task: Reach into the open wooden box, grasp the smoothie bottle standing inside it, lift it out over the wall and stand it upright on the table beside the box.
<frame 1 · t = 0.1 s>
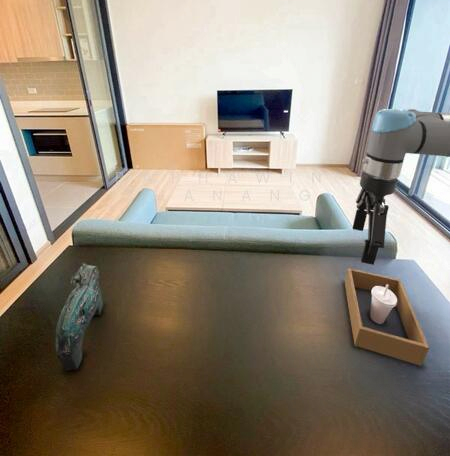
hand: (361, 244, 67), 27 cm above the table, tool pointing down, fingers open, 13 cm apart
smoothie: (376, 318, 75), resting in wooden box
dark teal curved piece: (88, 333, 70), on the table
wooden box: (376, 317, 75), on the table
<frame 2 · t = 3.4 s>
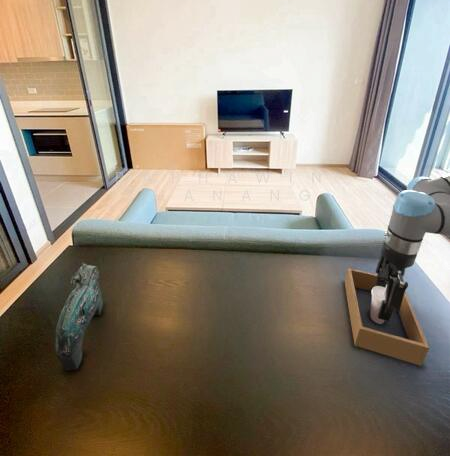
hand: (380, 307, 73), 4 cm above the table, tool pointing down, fingers closed on smoothie, 6 cm apart
smoothie: (376, 318, 75), resting in wooden box, touching gripper
everything else where it was.
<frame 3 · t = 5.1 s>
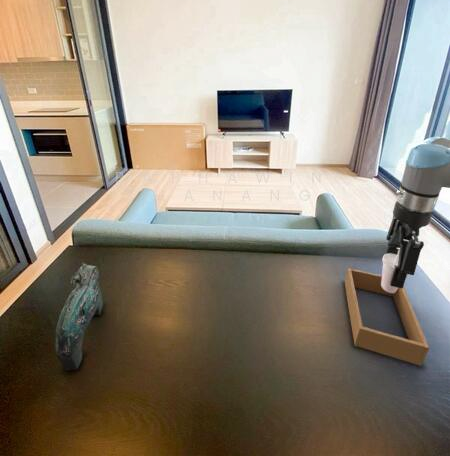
hand: (392, 275, 69), 17 cm above the table, tool pointing down, fingers closed on smoothie, 6 cm apart
smoothie: (388, 288, 70), point 12 cm above the table, touching gripper
everything else where it was.
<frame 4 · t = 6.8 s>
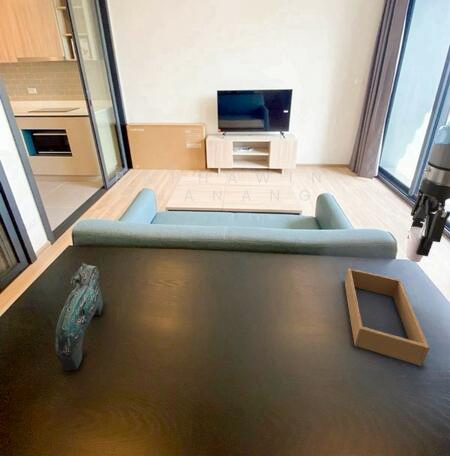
hand: (417, 246, 76), 19 cm above the table, tool pointing down, fingers closed on smoothie, 6 cm apart
smoothie: (412, 258, 78), point 15 cm above the table, touching gripper
everything else where it was.
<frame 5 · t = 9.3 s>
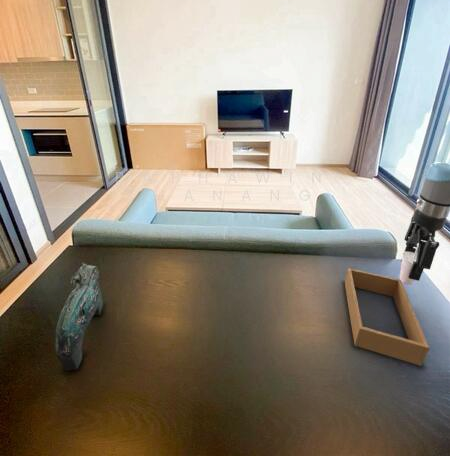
hand: (409, 270, 82), 8 cm above the table, tool pointing down, fingers closed on smoothie, 6 cm apart
smoothie: (405, 280, 84), point 3 cm above the table, touching gripper
everything else where it was.
when the fingers open (4 cm above the table, at t = 10.6 s): smoothie stays where it is, on the table.
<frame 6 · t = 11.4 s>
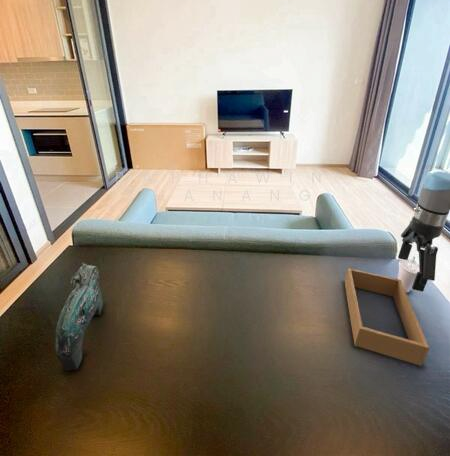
hand: (409, 273, 82), 7 cm above the table, tool pointing down, fingers open, 13 cm apart
smoothie: (403, 288, 85), on the table
everything else where it was.
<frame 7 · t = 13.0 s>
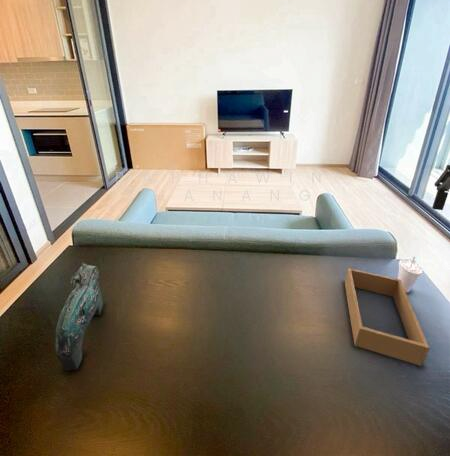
hand: (448, 220, 77), 27 cm above the table, tool pointing down, fingers open, 13 cm apart
nothing on the table moved.
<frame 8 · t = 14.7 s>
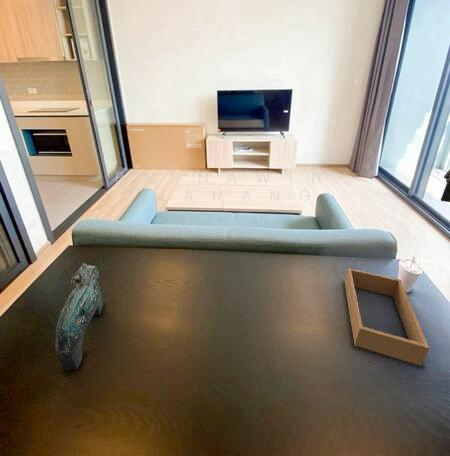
nothing on the table moved.
at the end: smoothie inside the target area (0.1 cm from its centre), on the table; smoothie tilted 0°; the gripper is holding nothing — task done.
